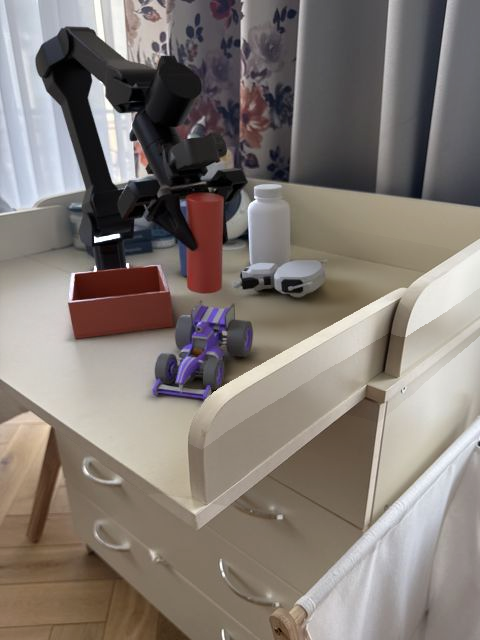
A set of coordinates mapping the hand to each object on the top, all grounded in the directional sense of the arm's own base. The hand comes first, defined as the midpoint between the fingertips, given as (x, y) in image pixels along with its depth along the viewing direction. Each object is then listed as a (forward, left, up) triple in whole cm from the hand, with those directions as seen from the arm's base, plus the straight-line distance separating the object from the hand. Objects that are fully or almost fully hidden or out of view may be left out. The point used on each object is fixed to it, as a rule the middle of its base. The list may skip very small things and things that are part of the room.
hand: (210, 246), depth 75 cm
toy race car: (+12, -4, -13) cm, 18 cm away
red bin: (-9, -13, -12) cm, 20 cm away
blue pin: (-26, +1, -12) cm, 29 cm away
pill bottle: (-26, +16, -13) cm, 33 cm away
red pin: (-2, -1, -6) cm, 7 cm away
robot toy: (-12, +14, -13) cm, 22 cm away
